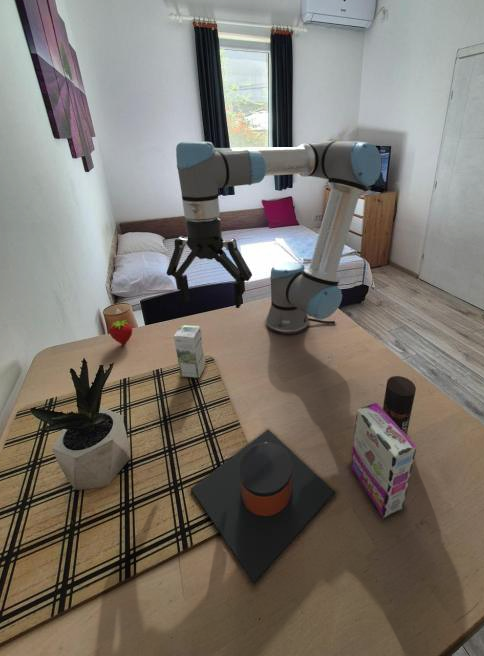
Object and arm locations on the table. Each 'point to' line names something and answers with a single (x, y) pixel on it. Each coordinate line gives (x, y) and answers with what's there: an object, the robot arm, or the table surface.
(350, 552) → the table surface
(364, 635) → the table surface
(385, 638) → the table surface
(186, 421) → the table surface
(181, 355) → the syrup box
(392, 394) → the deodorant
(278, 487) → the jar
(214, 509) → the mat
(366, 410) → the candy bar box
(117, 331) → the strawberry
